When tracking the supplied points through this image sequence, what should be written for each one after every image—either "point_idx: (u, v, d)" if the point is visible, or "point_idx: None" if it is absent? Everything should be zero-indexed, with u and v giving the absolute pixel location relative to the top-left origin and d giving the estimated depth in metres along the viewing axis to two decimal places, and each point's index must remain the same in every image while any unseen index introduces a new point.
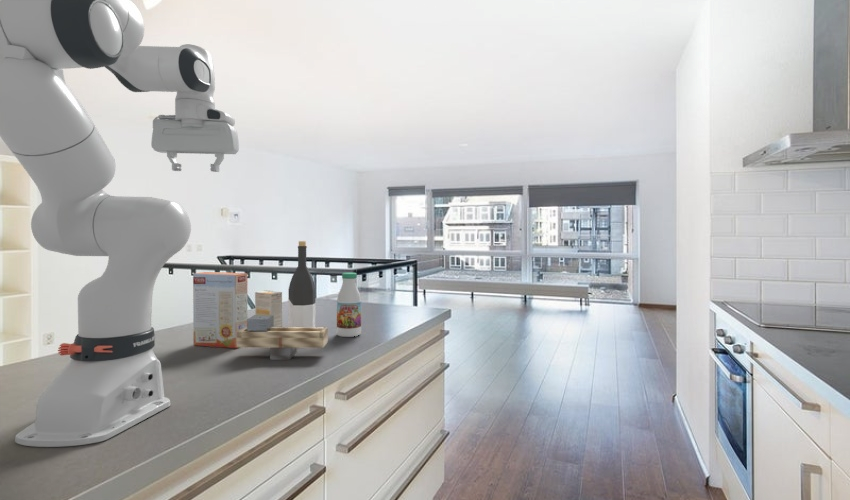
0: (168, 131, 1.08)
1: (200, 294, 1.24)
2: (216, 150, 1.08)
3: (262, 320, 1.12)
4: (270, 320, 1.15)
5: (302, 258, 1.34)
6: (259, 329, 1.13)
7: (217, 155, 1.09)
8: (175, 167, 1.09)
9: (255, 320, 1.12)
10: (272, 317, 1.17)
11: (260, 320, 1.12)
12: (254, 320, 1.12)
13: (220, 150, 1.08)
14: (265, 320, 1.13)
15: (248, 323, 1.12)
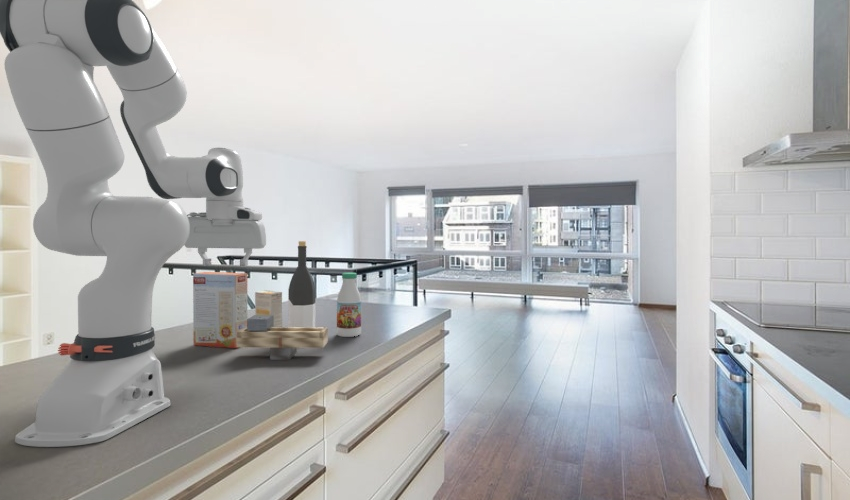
0: (199, 229, 1.12)
1: (200, 294, 1.24)
2: (245, 247, 1.13)
3: (262, 320, 1.12)
4: (270, 320, 1.15)
5: (302, 258, 1.34)
6: (259, 329, 1.13)
7: (246, 251, 1.13)
8: (206, 263, 1.13)
9: (255, 320, 1.12)
10: (272, 317, 1.17)
11: (260, 320, 1.12)
12: (254, 320, 1.12)
13: (249, 247, 1.13)
14: (265, 320, 1.13)
15: (248, 323, 1.12)
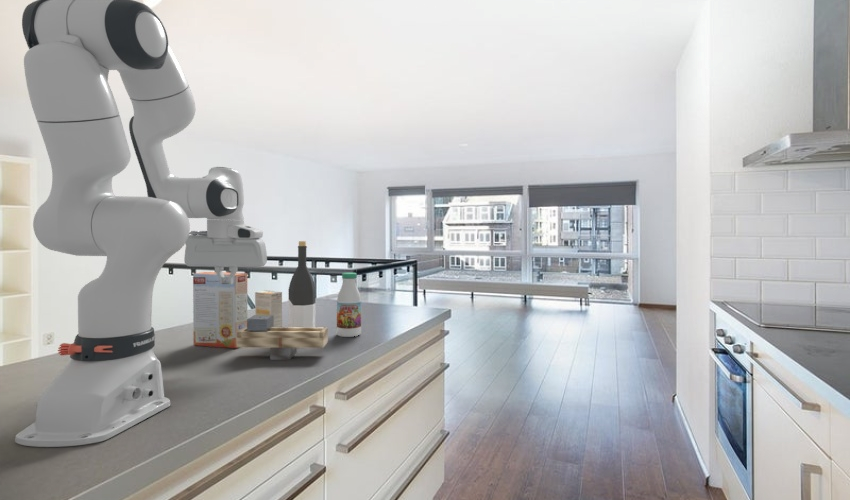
0: (200, 248, 1.13)
1: (200, 294, 1.24)
2: (246, 265, 1.13)
3: (262, 320, 1.12)
4: (270, 320, 1.15)
5: (302, 258, 1.34)
6: (259, 329, 1.13)
7: (231, 269, 1.14)
8: (222, 281, 1.14)
9: (255, 320, 1.12)
10: (272, 317, 1.17)
11: (260, 320, 1.12)
12: (254, 320, 1.12)
13: (250, 265, 1.13)
14: (265, 320, 1.13)
15: (248, 323, 1.12)
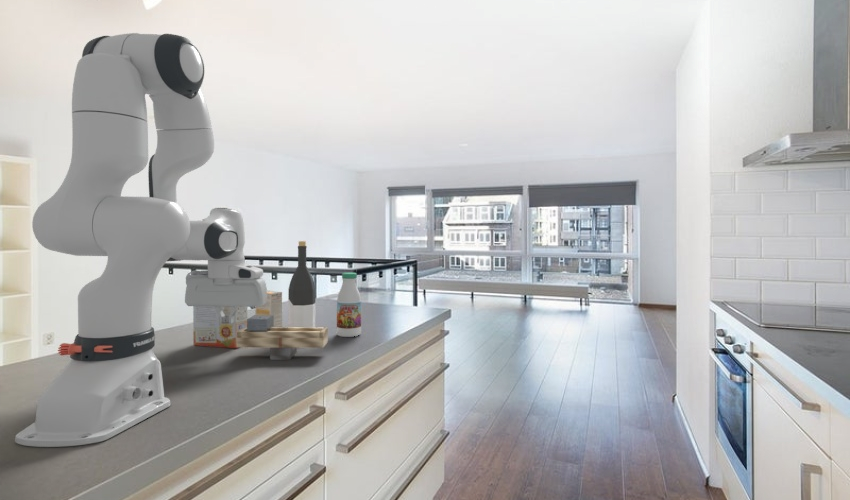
0: (201, 288, 1.13)
1: None
2: (246, 305, 1.13)
3: (262, 320, 1.12)
4: (270, 320, 1.15)
5: (302, 258, 1.34)
6: (259, 329, 1.13)
7: (232, 309, 1.14)
8: (223, 321, 1.14)
9: (255, 320, 1.12)
10: (272, 317, 1.17)
11: (260, 320, 1.12)
12: (254, 320, 1.12)
13: (250, 305, 1.13)
14: (265, 320, 1.13)
15: (248, 323, 1.12)
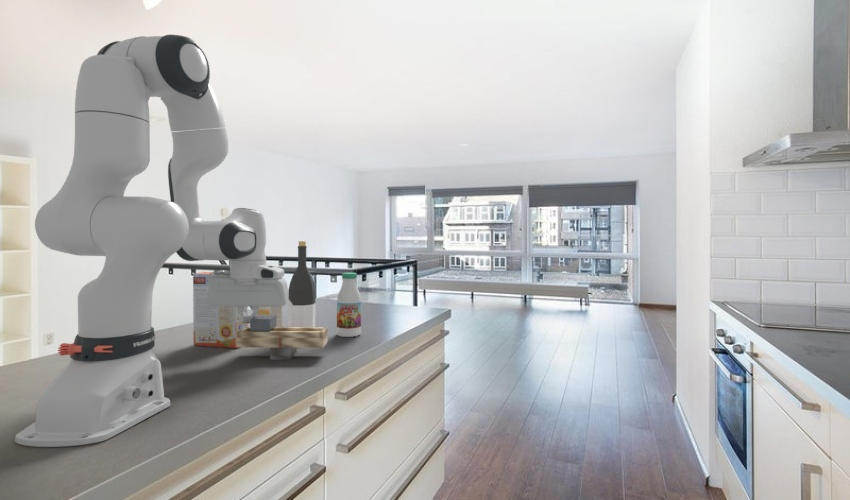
0: (223, 288, 1.13)
1: (200, 294, 1.24)
2: (269, 305, 1.14)
3: (265, 320, 1.13)
4: (273, 320, 1.15)
5: (302, 258, 1.34)
6: (262, 329, 1.13)
7: (253, 309, 1.14)
8: (245, 320, 1.14)
9: (258, 321, 1.12)
10: (275, 317, 1.17)
11: (263, 320, 1.13)
12: (257, 320, 1.12)
13: (272, 305, 1.14)
14: (268, 320, 1.13)
15: (251, 323, 1.12)
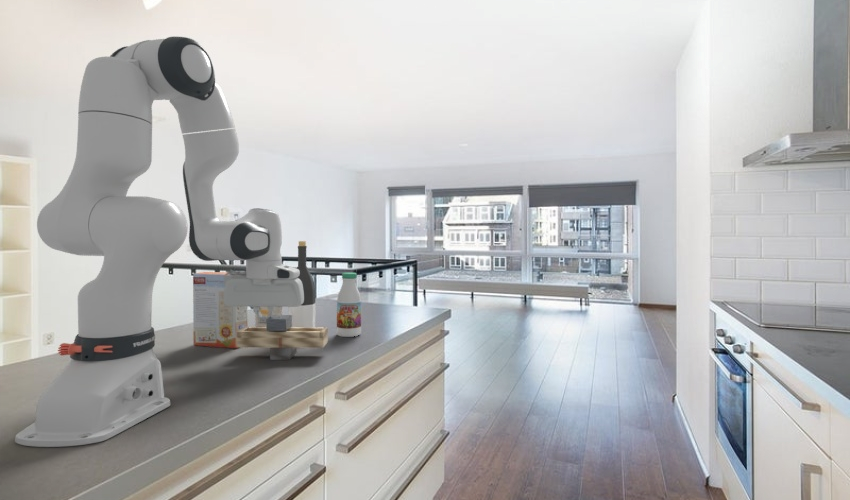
0: (239, 288, 1.13)
1: (200, 294, 1.24)
2: (284, 305, 1.14)
3: (281, 320, 1.13)
4: (289, 320, 1.16)
5: (302, 258, 1.34)
6: (278, 329, 1.13)
7: (269, 309, 1.14)
8: (261, 321, 1.15)
9: (274, 321, 1.13)
10: (290, 317, 1.17)
11: (279, 320, 1.13)
12: (273, 320, 1.13)
13: (288, 305, 1.14)
14: (284, 320, 1.13)
15: (267, 323, 1.13)
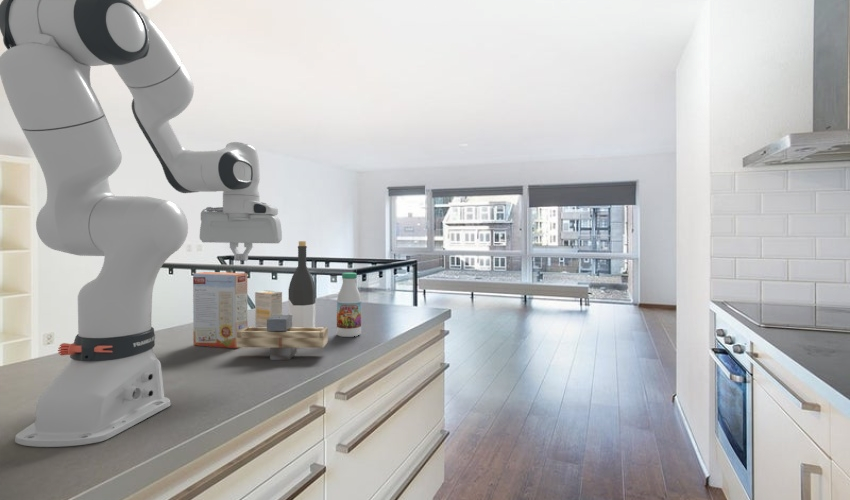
0: (216, 224, 1.12)
1: (200, 294, 1.24)
2: (261, 241, 1.12)
3: (281, 320, 1.13)
4: (289, 320, 1.16)
5: (302, 258, 1.34)
6: (278, 329, 1.13)
7: (246, 245, 1.13)
8: (237, 258, 1.13)
9: (275, 321, 1.13)
10: (291, 317, 1.17)
11: (279, 320, 1.13)
12: (274, 320, 1.13)
13: (265, 241, 1.12)
14: (284, 320, 1.13)
15: (268, 323, 1.13)
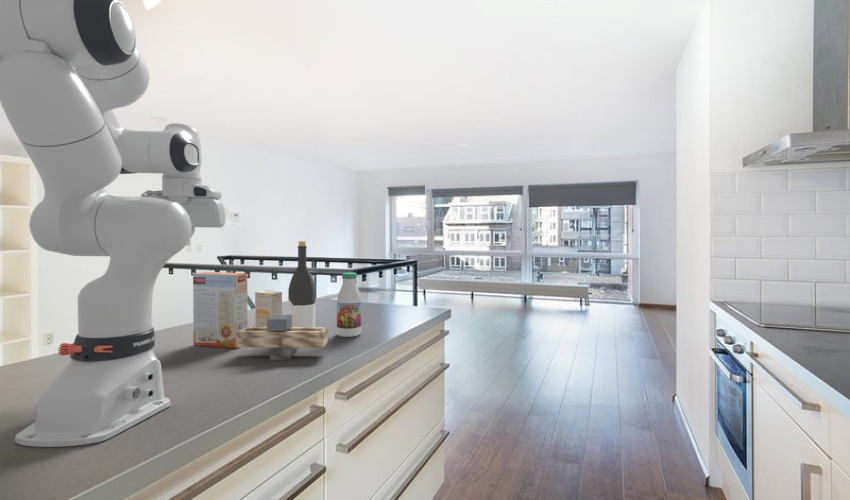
0: None
1: (200, 294, 1.24)
2: (203, 225, 1.10)
3: (281, 320, 1.13)
4: (289, 320, 1.16)
5: (302, 258, 1.34)
6: (278, 329, 1.13)
7: None
8: None
9: (275, 321, 1.13)
10: (291, 317, 1.17)
11: (279, 320, 1.13)
12: (274, 320, 1.13)
13: (206, 225, 1.10)
14: (284, 320, 1.13)
15: (268, 323, 1.13)
